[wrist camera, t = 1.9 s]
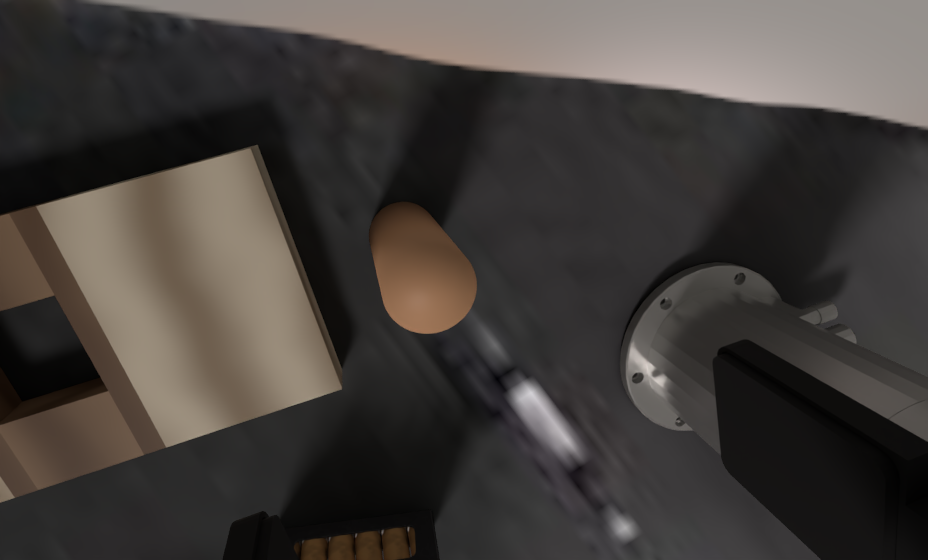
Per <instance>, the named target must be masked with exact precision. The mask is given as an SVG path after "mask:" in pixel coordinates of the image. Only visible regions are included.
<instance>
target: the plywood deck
mask: <svg viewBox="0 0 928 560" xmlns="http://www.w3.org/2000/svg"><path fill="white" fill-rule="evenodd" d="M54 295H55V297H56V299H57V300H58V302H59V304H60V306H61V307H62V309H63V311H64V313H65V315H66V316H67V318H68V320H69V322H70V323H71V325H72V327H73V329H74V331H75V332H76V334H77V336H78V338H79V340H80V341H81V343H82V345H83V347H84V348H85V350H86V352H87V354H88V356H89V357H90V359H91V361H92V363H93V364H94V366H95V368H96V370H97V372H98V373H99V375H100V378H97V379H94V380H90V381H87V382H84V383H81V384H78V385H74V386H71V387H68V388H65V389H61V390H58V391H55V392H52V393H49V394H45V395H42V396H39V397H36V398H33V399H29V400H26V401H23V402H22V400H21V399H20V397H19V396H18V394H17V392H16V391H15V389H14V388H13V386H12V385H11V383H10V381H9V380H8V378H7V377H6V375H5V373H4V372H3V370H2V369H1V367H0V502H3V501H6V500H9V499H12V498H15V497H18V496H21V495H24V494H27V493H30V492H33V491H36V490H39V489H42V488H45V487H48V486H52V485H55V484H58V483H61V482H64V481H67V480H70V479H73V478H76V477H79V476H82V475H85V474H88V473H91V472H94V471H97V470H100V469H103V468H106V467H109V466H112V465H115V464H118V463H121V462H124V461H127V460H130V459H133V458H136V457H139V456H142V455H145V454H148V453H151V452H154V451H157V450H160V449H163V448H166V447H169V446H172V445H175V444H178V443H181V442H184V441H187V440H190V439H193V438H196V437H199V436H202V435H205V434H208V433H211V432H214V431H217V430H220V429H223V428H226V427H229V426H232V425H235V424H238V423H241V422H244V421H247V420H250V419H253V418H256V417H259V416H262V415H265V414H268V413H271V412H274V411H277V410H280V409H283V408H286V407H289V406H293V405H296V404H299V403H302V402H305V401H308V400H311V399H314V398H317V397H320V396H323V395H326V394H329V393H332V392H335V391H338V390H341V389H342V368H341V365H340V363H339V360H338V357H337V355H336V352H335V349H334V347H333V344H332V342H331V339H330V336H329V334H328V331H327V328H326V326H325V323H324V320H323V318H322V315H321V312H320V310H319V307H318V304H317V302H316V299H315V296H314V294H313V291H312V288H311V286H310V283H309V280H308V278H307V275H306V272H305V270H304V267H303V264H302V262H301V259H300V256H299V254H298V251H297V248H296V246H295V243H294V240H293V238H292V235H291V232H290V230H289V227H288V224H287V222H286V219H285V216H284V214H283V211H282V208H281V206H280V203H279V200H278V198H277V195H276V192H275V190H274V187H273V184H272V182H271V179H270V177H269V174H268V171H267V169H266V166H265V163H264V161H263V158H262V155H261V153H260V150H259V147H258V145H255V146H251V147H247V148H244V149H240V150H236V151H233V152H229V153H225V154H221V155H218V156H214V157H210V158H207V159H203V160H199V161H195V162H192V163H188V164H184V165H181V166H177V167H173V168H170V169H166V170H162V171H158V172H155V173H151V174H147V175H144V176H140V177H136V178H133V179H129V180H125V181H121V182H118V183H114V184H110V185H107V186H103V187H99V188H95V189H92V190H88V191H84V192H81V193H77V194H73V195H70V196H66V197H62V198H58V199H55V200H51V201H47V202H44V203H40V204H36V205H33V206H29V207H25V208H21V209H18V210H14V211H10V212H7V213H3V214H0V311H2V310H6V309H9V308H13V307H16V306H19V305H23V304H26V303H30V302H33V301H37V300H40V299H43V298H47V297H50V296H54Z"/></svg>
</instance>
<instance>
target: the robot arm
mask: <svg viewBox="0 0 928 560" xmlns="http://www.w3.org/2000/svg"><path fill="white" fill-rule="evenodd" d="M837 315H838V312H837V308H836V307H835V305H834V304H833V303H831V302H830V301H822V302H819V303H817V304H814V305H811V306H809V307H807V308H805V309H802V310H800V309H798V308H796V307H794V306H791V305H789V304H787V303H785V302H782V300H781V298H780V295H779V293H778V292H777V291H776V289H775V288H774V287H773V285H772V284H771V283H770V282H769V281H768V280H766V279H765V278H764V277H763V276H761V275H760V274H758V273H756V272H754V271H752V270H750V269H747V268H745V267H742V266H739V265H736V264H732V263H722V262H714V263H706V264H700V265H697V266H694V267H691V268H688V269H685V270H683V271H681V272H679V273H677V274H676V275H674V276H672V277H670V278H669V279H667V280H666V281H665V282H663V283H662V284H661V285H660V286H658V287H657V288H656V289H655V290H654V291H653V292H652V293H651V294H650V295H649V296H648V297H647V298H646V299H645V300H644V301H643V303H642V304H641V306H640V307H639V309H638V310H637V311H636V313H635V314H634V316H633V318H632V320H631V322H630V324H629V326H628V328H627V331H626V333H625V336H624V340H623V344H622V347H621V356H620V370H621V379H622V382H623V385H624V388H625V391H626V393H627V395H628V396H629V398H630V400H631V401H632V403H633V404H634V405H635V406H636V407H637V408H638V409H639V410H640V412H641V413H642V414H643V415H645V416H646V417H647V418H648V419H650V420H651V421H652V422H654V423H656V424H658V425H660V426H663V427H665V428H669V429H673V430H679V431H689V430H694V431H695V432H696V433H697V434H698V435H699V436H700V437H701V438H703V439H704V440H705V441H706V442H707V443H708V444H709V445H710V446H711V447H712V448H713V449H715V450H716V451H717V452H718V453H719V454H720V455H721V458H722V461H723V464H724V466H725V468H726V469H727V471H728V472H729V473H730V474H731V475H732V476H733V477H734V478H735V479H736V480H737V481H738V482H739V483H740V484H741V485H742V486H743V487H744V488H746V489H747V490H748V491H749V492H750V493H751V494H752V495H753V496H754V497H755V498H756V499H757V500H758V501H759V502H760V503H762V504H763V505H764V506H765V507H766V508H767V509H768V510H769V511H770V512H771V513H772V514H773V515H774V516H775V517H776V518H778V519H779V520H780V521H781V522H782V523H783V524H784V525H785V526H786V527H787V528H788V529H789V530H790V531H791V532H792V533H794V534H795V535H796V536H797V537H798V538H799V539H800V540H801V541H802V542H803V543H804V544H805V545H806V546H807V547H808V548H809V549H811V550H812V551H813V552H814V553H815V554H816V555H817V556H818V557H819V558H820V559H821V560H928V377H927V376H924V375H922V374H920V373H918V372H916V371H914V370H911V369H909V368H907V367H905V366H903V365H901V364H898V363H896V362H894V361H892V360H890V359H888V358H885V357H883V356H881V355H879V354H877V353H875V352H872V351H870V350H868V349H866V348H864V347H862V346H859V345H857V344H856V337H855V334H854V333H853V332H852V330H851V329H850V328H849V327H847V326H846V325H844V324H836V325H834V326H831V327H828V328H825V329H823V328H821V327H818V326H816V325H820V324H823V323H825V322H828V321H831V320H834V319H835V318H837ZM223 560H299V558H298V556H297V554H296V552H295V549H294V547H293V545H292V543H291V541H290V539H289V537H288V535H287V533H286V531H285V529H284V527H283V524H282V522H281V520H280V519H279V517H278V516H277V515H274V516H271V517H269V516H268V514H267V513H266V512H264V511H262V512H259V513H256V514H253V515H251V516H248V517H245V518H242V519H239V520H237V521H234V522H233V523H232V525H231V527H230V531H229V535H228V539H227V544H226V548H225V552H224V556H223Z"/></svg>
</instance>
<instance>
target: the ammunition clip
mask: <svg viewBox="0 0 928 560" xmlns="http://www.w3.org/2000/svg"><path fill="white" fill-rule="evenodd" d="M285 531H286V533H287V535H288V537H289V539H290V541H291V543H292V545H293V547H294V549H295V552H296V554H297V556H298V558H299V560H327V559H328V560H355V555H356V560H383V559H382V551H383V552H384V560H440V559H439V552H438V546H437V540H436V533H435V527H434V521H433V514H432V511H431V510H424V511H417V512H409V513H401V514H394V515H386V516H378V517H370V518H363V519H355V520H347V521H339V522H332V523H324V524H316V525H309V526H301V527H293V528H285ZM409 547H410V548H411V554H412V557H410V552H409Z"/></svg>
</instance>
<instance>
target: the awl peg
mask: <svg viewBox="0 0 928 560" xmlns="http://www.w3.org/2000/svg"><path fill="white" fill-rule="evenodd" d="M369 242H370V246H371V250H372V255H373V259H374V264H375V268H376V272H377V277H378V281H379V285H380V290H381V294H382V299H383V303H384V305H385V308H386V310H387V312H388V313H389V315H390V316H391V317H392V319H393V320H394V321H395V322H396V323H398V324H399V325H400V326H402V327H404V328H405V329H407V330H410V331H413V332H417V333H424V334H426V333H437V332H441V331H444V330H446V329H449V328H451V327H452V326H454V325H455V324H457V323H458V322H459V321H461V320H462V319H463V318H464V317H465V315H466V314H467V313H468V311H469V310H470V308H471V306H472V304H473V302H474V299H475V296H476V289H477V282H476V275H475V272H474V269H473V267H472V265H471V263H470V262H469V261H468V259H467V258H466V257H465V255H464V254H463V253H462V252H461V251H460V250H459V248H458V247H457V246H456V245H455V244H454V242H453V241H452V240H451V239H450V238H449V236H448V235H447V234H446V233H445V232H444V230H443V229H442V228H441V227H440V226H439V224H438V223H437V222H436V221H435V220H434V219H433V217H432V216H431V215H430V214H429V213H428V212H427V211H426V210H425V209H424V208H423V207H421V206H419V205H417V204H414V203H411V202H396V203H392V204H390V205H388V206H386V207H384V208H383V209H381V210H380V211H379V212H378V213H377V214H376V216H375V217H374V219H373V221H372V223H371V226H370V230H369Z"/></svg>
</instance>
